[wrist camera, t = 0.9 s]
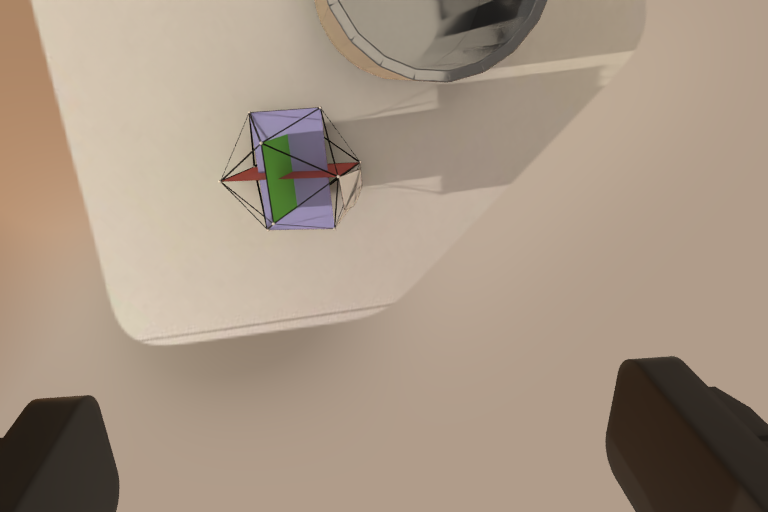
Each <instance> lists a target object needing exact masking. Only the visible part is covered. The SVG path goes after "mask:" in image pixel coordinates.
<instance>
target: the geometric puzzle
mask: <svg viewBox="0 0 768 512" xmlns="http://www.w3.org/2000/svg"><path fill="white" fill-rule="evenodd" d="M321 109H322V107H321V106H319V107H318V108H304V109H290V110H276V111H263V112H251V111H249V112H248V113H249V114H248V115H249V122H250V133H251V143H252V151H251V152H250V153H249V154H248V155H247V156H246V157H245V158H244V159H243V160H242V161H241V162H240V163H239V164H238V165H237V166H235V167H234V168H233V169H232V170H231V171H230V172H229V173H228V174H227V175H226V176H225V177H224V178H223V179H222V180H219V183H222V182H224V181H249V180H256V181H257V186H258V191H259V195H260V200H261V205H262V209H263V214H264V215H262V214H261V213H260V212H259V211H257V210H256V209H255V208H254V207H252V206H251V205H250V204H249V203H247V202H246V201H245V200H244V199H242V198H241V197H240V196H239V195H237V194H236V193H235V192H234V191H232V190H231V189H230V188H229V187H227V186H226V185H225V184H224V183H222V184H223V185H224V186H225V187H226V188H227V189H228V188H229V189H230V190H231V191H232V192H234V193H235V194H236V195H237V196H239V197H240V198H241V199H242V200H244V201H245V202H246V203H247V204H249V205H250V206H251V207H252V208H254V209H255V210H256V211H257V212H259V213H260V214H261V215H262V216H264V219H265V223H266V227H265V226H264V225H263V224H262V223H261V222H260V221H259V220H258V219H257V218H256V217H255V216H254V215H253V214H252V213H251V212H250V211H249V212H250V213H251V214H252V215H253V216H254V217H255V218H256V219H257V220H258V221H259V222H260V223H261V224H262V225H263V226H264V227H265V228H266V229H267V231H269V230H289V229H334V230H336V226H337V225H338V224H339V222H340V221H341V220H342V218H343V217H344V216H345V214H346V213H347V212H348V210H349V209H350V208H351V207H353V206H354V205H355V203H356V201H357V199H358V197H359V194H360V190H361V187H362V180H361V169H358V168H357V170H356V171H353V172H350V173H348V174H346V173H347V172H349V171H350V170H351V169H353V168H354V167H355V166H357V165H358V164H360V163H361V161H358V160H357V159H358V158H357V157H356V158H357V159H355V158H354V157H352V156H351V155H350V154H348V153H347V152H345V151H344V150H342V149H341V148H340V147H338V146H337V145H335V144H334V143H332V142H331V141H330V140H329V138H328V134H327V130H326V126H325V122H324V118H323V115H322V111H323V110H322V111H321ZM324 114H325V113H324ZM321 115H322V117H321ZM325 115H326V114H325ZM247 117H248V116H247ZM327 118H328V117H327ZM322 119H323V123H324V127H325V131H326V135H327V138H328V139H327V138H325V137H324V134H323V125H322ZM246 120H247V119H246ZM245 122H246V121H245ZM330 122H331V121H330ZM244 124H245V123H244ZM332 125H333V124H332ZM333 126H334V125H333ZM243 127H244V126H243ZM242 129H243V128H242ZM335 129H336V128H335ZM241 132H242V131H241ZM338 133H339V132H338ZM240 134H241V133H240ZM252 134H253V137H252ZM239 136H240V135H239ZM340 136H341V135H340ZM341 137H342V136H341ZM324 138H325V139H326V140H328V142H329V146H330V150H331V154H332V158H333V162H334V164H327V159H326V151H325V142H324ZM238 139H239V138H238ZM343 140H344V139H343ZM237 141H238V140H237ZM253 141H254V147H255V149H254V148H253ZM330 142H331V143H332V144H333V145H335V146H336V147H338V148H339V149H341V150H342V151H343V152H345V153H346V154H348V155H349V156H351V157H352V158H353V159H355V160H356V161H358V162H356V163H335V161H334V157H333V153H332V149H331V145H330ZM345 143H346V142H345ZM236 144H237V143H236ZM346 144H347V143H346ZM235 146H236V145H235ZM348 147H349V146H348ZM234 148H235V147H234ZM349 148H350V147H349ZM233 151H234V150H233ZM254 151H255V153H256V160H257V164H256V165H255V159H254ZM351 151H352V150H351ZM232 153H233V152H232ZM251 153H252V154H253V165H254V166H253V167H252V168H250V169H247V170H245V171H243V172H240V173H238V174H235V175H233V176H231V177H228V178H226V177H227V176H228V175H229V174H230V173H231V172H232V171H233V170H234V169H235V168H237V167H238V166H239V165H240V164H241V163H242V162H243V161H244V160H245V159H246V158H247V157H248V156H249V155H250V154H251ZM353 154H354V153H353ZM354 155H355V154H354ZM231 156H232V155H231ZM230 158H231V157H230ZM229 160H230V159H229ZM228 163H229V162H228ZM227 165H228V164H227ZM257 166H258V167H257ZM358 167H359V166H358ZM226 168H227V167H226ZM225 170H226V169H225ZM224 172H225V171H224ZM223 175H224V174H223ZM222 177H223V176H222ZM329 177H336V178H335V179H334V180H332V181H331V182H329ZM225 178H226V179H225ZM258 180H260V185H261V192H262V197H261V193H260V188H259V183H258ZM335 181H337V194H336V208H335V222H336V209H337V195H338V182H339V183H340V188H341V194H342V199H343V206H344V212H343V214H342V216H341V218H340V220H339V221H338V220H337V221H338V223H336V224H337V225H335V222H334V219H333V211H332V202H331V193H330V185H331V184H333V183H334V182H335ZM229 189H228V190H229ZM230 190H229V191H230ZM231 191H230V192H231ZM232 192H231V193H232ZM232 194H233V193H232ZM233 195H234V194H233ZM234 196H235V195H234ZM235 197H236V196H235ZM236 198H237V197H236ZM262 198H263V202H262ZM237 199H238V198H237ZM238 200H239V199H238ZM239 201H240V200H239ZM240 202H241V201H240ZM241 203H242V202H241ZM242 204H243V203H242ZM263 204H264V206H263ZM243 205H244V204H243ZM244 206H245V205H244ZM342 208H343V207H342ZM341 211H342V210H341ZM340 214H341V212H340ZM339 216H340V215H339ZM338 219H339V218H338Z"/></svg>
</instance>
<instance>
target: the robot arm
mask: <svg viewBox="0 0 768 512" xmlns="http://www.w3.org/2000/svg"><path fill="white" fill-rule="evenodd" d="M606 452H607V457H608V461H609V464H610V467H611V470H612V472H613V474H614V476H615V478H616V480H617V481H618V483H619V485H620V486H621V488H622V490H623V491H624V493H625V495H626V496H627V498H628V500H629V501H630V503H631V505H632V506H633V508H634V510H635V511H636V512H768V424H767V423H766V422H764V421H763V420H762V419H761V418H760V417H759V416H758V415H757V414H756V413H755V412H754V411H753V410H752V409H751V408H750V407H748V406H746V405H745V404H743V403H741V402H740V401H738V400H736V399H735V398H733V397H731V396H730V395H728V394H726V393H725V392H723V391H721V390H719V389H718V388H716V387H708V386H707V385H706V384H705V383H704V382H703V381H702V380H701V379H700V378H699V377H698V376H697V375H696V374H695V373H694V372H693V371H692V370H691V369H690V368H689V367H688V366H687V365H686V364H685V363H684V362H683V361H682V360H681V359H679V358H677V357H674V356H670V357H657V358H642V359H628V360H625V361H624V362H623V363H622V364H621V366H620V368H619V371H618V375H617V381H616V386H615V391H614V396H613V401H612V406H611V412H610V416H609V422H608V427H607V432H606ZM118 499H119V476H118V471H117V467H116V464H115V460H114V457H113V453H112V449H111V446H110V443H109V439H108V435H107V432H106V428H105V425H104V421H103V418H102V414H101V410H100V407H99V404H98V402H97V401H96V400H95V398H94V397H92V396H89V395H87V396H72V397H57V398H43V399H35V400H33V401H31V402H30V403H29V404H28V405H27V406H26V407H25V408H24V410H23V411H22V413H21V414H20V415H19V417H18V418H17V419H16V421H15V422H14V424H13V425H12V427H11V428H10V429H9V430H8V432H7V433H6V435H5V436H4V437H3V438H0V512H116V510H117V505H118Z"/></svg>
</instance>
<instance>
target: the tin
mask: <svg viewBox="0 0 768 512" xmlns="http://www.w3.org/2000/svg"><path fill="white" fill-rule="evenodd" d="M314 1H315V5H316V10H317V13H318V16H319V19H320V22H321V25H322V27H323V29H324V30H325V32H326V34H327V36H328V37H329V39H330V41H331V42H332V44H333V45H334V46H335V48H336V49H337V50H338V51H339V52H340V53H341V54H342V55H343V56H344V57H345V58H346V59H347V60H348V61H350V62H351V63H352V64H354V65H355V66H356V67H358V68H359V69H361V70H364V71H366V72H368V73H370V74H373V75H376V76H379V77H381V78H385V79H395V80H412V81H430V82H453V81H456V80H460V79H463V78H466V77H470V76H473V75H477V74H480V73H483V72H485V71H487V70H488V69H490V68H491V67H493V66H494V65H495V64H497V63H498V62H500V61H501V60H503V59H504V58H506V57H507V56H509V55H510V54H512V53H513V52H514V51H515V50H516V49H517V48H518V46H519V45H520V44H521V43H522V41H523V40H524V39H525V38H526V36H527V35H528V34H529V33H530V31H531V30H532V29H533V28H534V26H535V25H536V24H537V23H538V21H539V19H540V17H541V14H542V12H543V10H544V7H545V5H546V2H547V0H314Z"/></svg>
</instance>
